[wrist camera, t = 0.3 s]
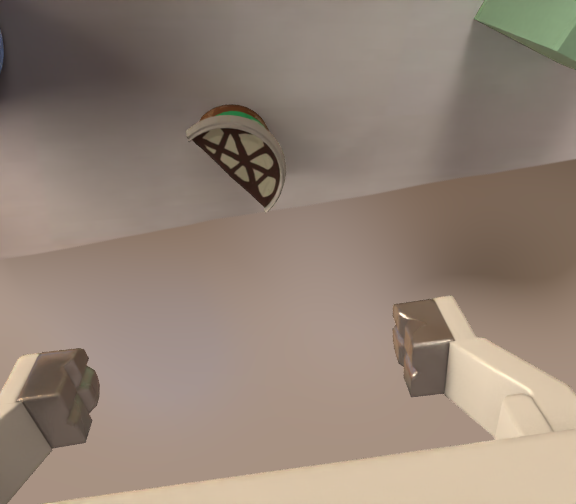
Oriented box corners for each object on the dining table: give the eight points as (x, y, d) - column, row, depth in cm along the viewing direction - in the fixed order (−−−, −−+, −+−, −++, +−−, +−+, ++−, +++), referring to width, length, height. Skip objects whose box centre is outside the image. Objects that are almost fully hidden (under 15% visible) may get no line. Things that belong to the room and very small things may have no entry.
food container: (301, 146, 60) (311, 181, 52) (265, 178, 62) (269, 216, 54) (230, 69, 54) (228, 95, 46) (192, 107, 56) (184, 138, 48)
